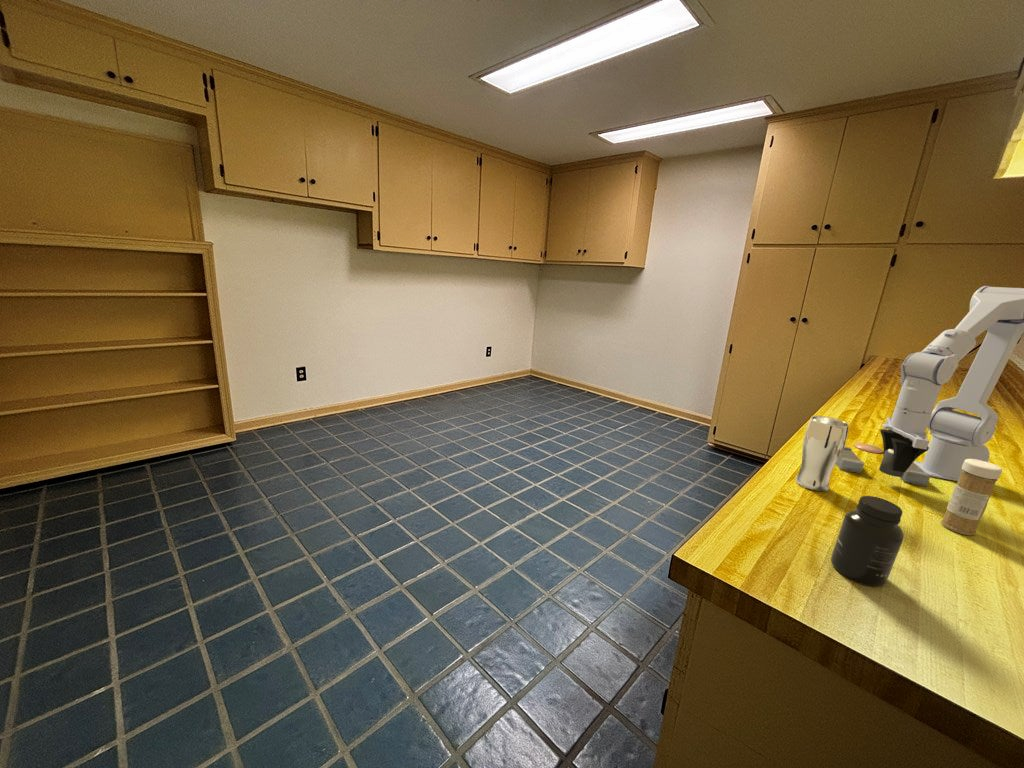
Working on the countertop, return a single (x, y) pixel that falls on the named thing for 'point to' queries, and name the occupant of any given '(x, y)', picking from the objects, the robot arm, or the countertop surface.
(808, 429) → the beer glass
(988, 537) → the countertop surface
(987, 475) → the sprinkles bottle
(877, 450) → the coaster
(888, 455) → the grey short cylinder
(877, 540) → the supplement bottle
